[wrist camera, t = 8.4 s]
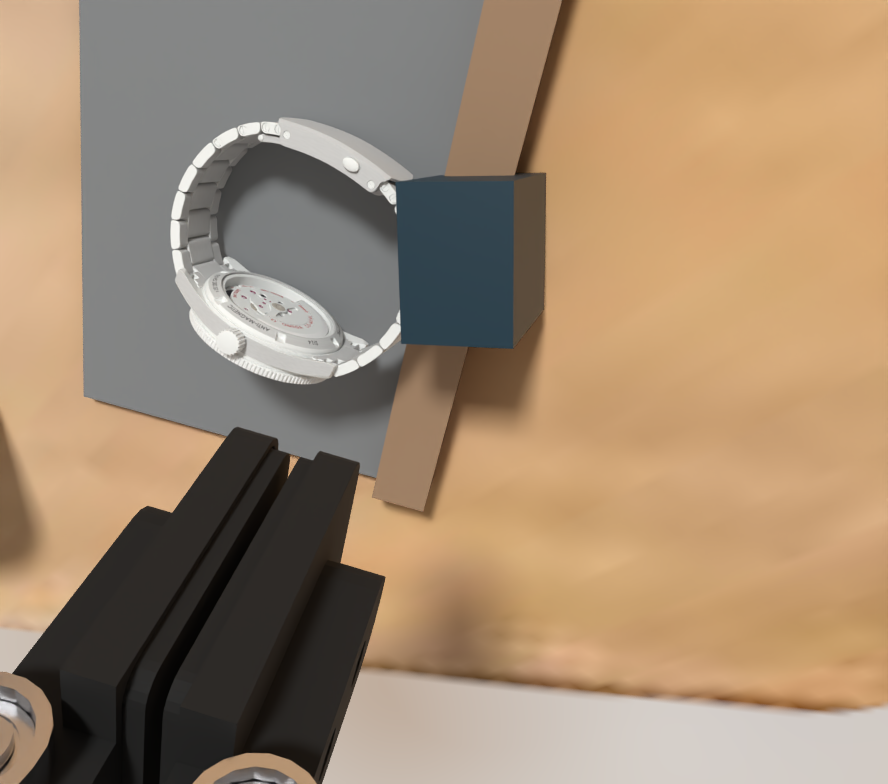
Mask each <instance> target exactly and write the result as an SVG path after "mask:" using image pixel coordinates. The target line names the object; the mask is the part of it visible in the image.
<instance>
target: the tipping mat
mask: <svg viewBox="0 0 888 784" xmlns="http://www.w3.org/2000/svg"><path fill="white" fill-rule="evenodd" d="M561 4H562V0H79V15H80V104H81V193H82V282H83V371H84V397H88V398H92V399H95V400H99V401H102V402H106V403H109V404H113V405H117V406H120V407H124V408H127V409H131V410H135V411H138V412H142V413H145V414H149V415H152V416H156V417H160V418H163V419H167V420H170V421H174V422H178V423H181V424H185V425H188V426H192V427H195V428H199V429H203V430H206V431H210V432H213V433H217V434H221V435H224V436H228V435H229V433H230V432H231V431H232V430H233V429H234V428H235V427H240V428H244V429H247V430H251V431H254V432H257V433H261V434H264V435H268V436H271V437H275V438H277V439H278V443H279V445H278V450H279V451H283V452H286V453H289V454H292V455H296V456H299V457H303V458H307V459H310V460H314V458H315V456H316V455H317V453H318V452H319V451H322V452H326V453H329V454H332V455H336V456H339V457H343V458H346V459H350V460H353V461H356V462H359V463H360V469H359V473H360V474H364V475H367V476H371V477H375V478H376V482H375V486H374V490H373V495H372V498H375V499H379V500H383V501H386V502H390V503H393V504H397V505H400V506H404V507H408V508H411V509H415V510H418V511H422V512H423V511H424V507H425V504H426V500H427V497H428V493H429V490H430V486H431V483H432V479H433V475H434V472H435V468H436V464H437V461H438V457H439V453H440V450H441V446H442V442H443V439H444V435H445V431H446V428H447V424H448V420H449V417H450V413H451V409H452V405H453V402H454V398H455V394H456V391H457V387H458V383H459V380H460V376H461V372H462V369H463V365H464V361H465V358H466V354H467V350H468V347H461V346H438V345H415V344H401V340H400V341H399V342H398V343H396V344H395V345H394V346H392V347H391V348H389V349H388V350H387V351H385V352H384V353H382V354H381V355H380V356H378V357H377V358H376V359H374V360H373V361H371V362H370V363H368V364H366V365H365V366H362V367H359V368H358V369H356V370H354V371H352V372H350V373H347V374H345V375H342V376H338V377H335V376H332V377H331V378H329V379H328V378H327V379H326V380H324V381H321V382H319V383H316V384H315V383H314V384H293V383H287V382H282V381H277V380H274V379H270V378H267V377H264V376H261V375H259V374H256V373H253V372H251V371H249V370H247V369H244V368H243V367H240V366H239V365H236V364H235V363H233V362H231V361H229V360H228V359H226V358H225V357H223V356H222V355H220V354H219V353H218V352H216V351H215V350H214V349H212V348H211V347H210V346H209V345H207V344H206V342H204V340H202V339H201V337H199V335H198V334H197V333H196V331H195V330H194V328H193V326H192V324H191V322H190V317H189V312H190V309H191V307H190V306H189V304H188V303H187V302H186V300H185V298H184V297H183V295H182V293H181V292H180V290H179V288H178V286H177V284H176V282H175V278H176V275H177V274H176V271H175V267H174V262H173V255H172V251H173V250H176V249H172V247H171V236H170V229H171V221H172V220H174V219H172V217H171V214H172V208H173V204H174V200H175V196H176V193H177V192H178V191H180V190H179V185H180V182H181V180H182V178H183V176H184V174H185V172H186V170H187V169H188V167H189V166H190V165H192V164H193V160H194V159H195V158H196V156H197V155H198V154H199V153H200V152H201V150H202V149H203V148H204V147H205V146H206V145H208V144H209V143H213V140H214V139H215V138H216V137H218V136H219V135H221V134H222V133H224V132H226V131H228V130H230V129H232V128H238V126H240V125H243V124H247V123H253V122H278V121H279V118H282V117H288V118H298V119H306V120H311V121H315V122H318V123H322V124H325V125H328V126H331V127H334V128H336V129H339V130H342V131H344V132H346V133H349V134H351V135H353V136H356V137H358V138H360V139H362V140H364V141H365V142H367V143H369V144H371V145H372V146H374V147H376V148H377V149H379V150H380V151H382V152H383V153H385V154H386V155H388V156H389V157H391V158H392V159H393V160H395V161H396V162H398V163H399V164H400V165H401V166H403V167H404V168H405V169H406V170H408V171H409V172H410V173H411V174H412V175H413V179H418V178H425V177H432V176H438V175H445V176H506V175H515V173H516V170H517V166H518V162H519V159H520V155H521V151H522V148H523V144H524V140H525V137H526V133H527V129H528V125H529V122H530V118H531V114H532V111H533V107H534V103H535V100H536V96H537V92H538V89H539V85H540V81H541V78H542V74H543V70H544V67H545V63H546V59H547V55H548V52H549V48H550V44H551V41H552V37H553V33H554V30H555V26H556V22H557V19H558V15H559V11H560V8H561ZM231 167H232V172H231V174H230V176H229V178H228V180H227V182H226V184H225V186H224V188H221V189H219V190H220V191H221V198H220V202H219V208H218V212H217V213H216V214H212V215H215V216H216V218H217V232H218V239H217V240H215V241H211V242H217V243H218V245H219V248H220V253H221V257H222V260H223V259H224V257H231V258H233V259H235V260H236V261H237V262H239V263H240V264H241V265H242V266H243V267H244V268H246V269H247V270H248V271H249V272H251V273H256V274H260V275H264V276H267V277H270V278H273V279H276V280H278V281H281V282H283V283H285V284H288V285H290V286H292V287H294V288H296V289H297V290H299V291H301V292H303V293H304V294H306V295H308V296H309V297H311V298H312V299H313V300H315V301H316V302H317V303H319V304H320V305H321V306H322V307H323V308H324V309H326V310H327V311H328V312H329V314H330V315H332V316H333V317H334V318H335V320H336V321H337V322H338V324H339V325H340V327H341V329H342V331H344V332H346V333H348V334H351V335H353V336H356V337H358V338H361V339H363V340H365V341H366V342H367V343H368V346H371V345H373V344H376V343H379V342H380V339H381V338H382V337H383V336H384V335H385V334H386V332H387V331H388V330H389V328H390V327H391V325H393V324H394V323H396V322H397V321H396V317H397V315H398V313H399V310H400V298H399V269H398V241H397V215H396V212H395V207H396V204H391V203H389V201H388V200H387V198H386V197H385V196H384V195H381V196H378V195H374V194H373V193H372V192H369V191H367V190H366V189H365V188H363V187H362V186H361V185H359V184H358V183H357V182H355V181H354V180H352V179H351V178H350V177H348V176H347V175H345V174H344V173H342V172H340V171H339V170H337V169H336V168H334V167H332V166H330V165H329V164H327V163H325V162H323V161H321V160H319V159H317V158H314V157H312V156H310V155H307V154H305V153H302V152H300V151H297V150H294V149H291V148H288V147H285V146H283V145H281V144H276V143H269V142H261V143H259V144H257V145H256V146H254V147H253V148H247V153H246V154H245V155H244V156H243V157H242V158H241V159H240V160H239V162H238V163H237V164H236V165H235V166H231ZM179 249H180V248H179ZM368 346H367V347H368Z"/></svg>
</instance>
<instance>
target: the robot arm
mask: <svg viewBox="0 0 888 784" xmlns="http://www.w3.org/2000/svg"><path fill="white" fill-rule="evenodd" d="M278 445H279V443H278V439H277V438H275V437H271V436H268V435H264V434H261V433H257V432H254V431H251V430H247V429H244V428H240V427H235V428H234V429H233V430H232V431H231V432H230V433H229V435H228V436H227V438H226V439H225V440H224V442H223V443H222V444H221V446H220V447H219V449H218V450H217V451H216V453H215V454H214V456H213V457H212V458H211V460H210V461H209V463H208V464H207V465H206V467H205V468H204V470H203V471H202V472H201V474H200V475H199V476H198V478H197V479H196V481H195V482H194V483H193V485H192V486H191V488H190V489H189V490H188V492H187V493H186V495H185V496H184V497H183V499H182V500H181V501H180V503H179V504H178V506H177V507H176V508H175V510H174V511H173V513H170V512H167V511H164V510H160V509H157V508H153V507H150V506H147V507H145V508H143V509H141V510H140V511H139V512H138V513H137V514H136V515H135V516H134V517H133V519H132V520H131V521H130V522H129V524H128V525H127V526H126V528H125V529H124V530H123V531H122V533H121V534H120V535H119V537H118V538H117V539H116V540H115V542H114V543H113V544H112V546H111V547H110V548H109V550H108V551H107V552H106V553H105V555H104V556H103V557H102V559H101V560H100V561H99V562H98V564H97V565H96V566H95V568H94V569H93V570H92V571H91V573H90V574H89V575H88V577H87V578H86V579H85V580H84V582H83V583H82V584H81V586H80V587H79V588H78V589H77V591H76V592H75V593H74V595H73V596H72V597H71V599H70V600H69V601H68V602H67V604H66V605H65V606H64V608H63V609H62V610H61V611H60V613H59V614H58V615H57V617H56V618H55V619H54V620H53V622H52V623H51V624H50V626H49V627H48V628H47V629H46V631H45V632H44V633H43V635H42V636H41V637H40V638H39V640H38V641H37V643H36V644H35V645H34V646H33V647H32V649H31V650H30V651H29V653H28V654H27V655H26V657H25V658H24V659H23V660H22V662H21V663H20V664H19V666H18V667H17V668H16V669H15V671H14V672H13V673H12V674H10V673H7V672H0V784H322V782H323V779H324V776H325V773H326V770H327V767H328V764H329V761H330V758H331V755H332V752H333V749H334V746H335V743H336V740H337V737H338V734H339V731H340V728H341V725H342V722H343V720H344V717H345V714H346V711H347V708H348V705H349V702H350V699H351V696H352V692H353V690H354V687H355V684H356V681H357V678H358V675H359V672H360V669H361V666H362V662H363V659H364V656H365V653H366V650H367V646H368V643H369V639H370V636H371V633H372V629H373V626H374V622H375V618H376V614H377V611H378V607H379V603H380V599H381V595H382V591H383V586H384V582H385V576H381V575H378V574H375V573H371V572H368V571H365V570H361V569H358V568H354V567H351V566H348V565H344V564H341V563H340V562H341V557H342V553H343V548H344V543H345V538H346V533H347V528H348V524H349V519H350V514H351V509H352V504H353V499H354V494H355V490H356V485H357V480H358V475H359V469H360V463H359V462H356V461H353V460H350V459H346V458H343V457H339V456H336V455H332V454H329V453H326V452H322V451H319V452H318V453H317V455H316V456H315V458H314V460H310V459H307V458H303V457H300V458H299V460H298V461H297V463H296V464H295V466H294V468H293V470H292V471H291V473H290V475H289V477H288V470H289V463H290V454H289V453H286V452H283V451H279V450H278ZM287 477H288V479H287Z"/></svg>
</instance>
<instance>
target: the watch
mask: <svg viewBox="0 0 888 784" xmlns="http://www.w3.org/2000/svg"><path fill="white" fill-rule="evenodd" d="M261 142H269V143H276V144H281V145H283V146H285V147H288V148H291V149H294V150H297V151H300V152H302V153H305V154H307V155H310V156H312V157H314V158H317V159H319V160H321V161H323V162H325V163H327V164H329V165H330V166H332V167H334V168H336V169H337V170H339V171H340V172H342V173H344V174H345V175H347V176H348V177H350V178H351V179H352V180H354V181H355V182H357V183H358V184H359V185H361V186H362V187H363V188H365V189H366V190H367V191H369V192H372V193H373V194H374V195H378V196H381V195H384V196H385V197H386V198H387V200H388V201H389V203H391V204H396V207H395V212H396V215H397V241H398V269H399V298H400V310H399V313H398V315H397V317H396V321H397V322H396V323H394V324H393V325H391V327H390V328H389V330H388V331H387V332H386V334H385V335H384V336H383V337H382V338H381V339H380V342H379V343H376V344H373V345H371V346H368V343H367V342H366V341H365V340H363V339H361V338H358V337H356V336H353V335H351V334H348V333H346V332H344V331H342V329H341V327H340V325H339V324H338V322H337V321H336V320H335V318H334V317H333V316H332V315H330V314H329V312H328V311H327V310H326V309H324V308H323V307H322V306H321V305H320V304H319V303H317V302H316V301H315V300H313V299H312V298H311V297H309V296H308V295H306V294H304V293H303V292H301V291H299V290H297V289H296V288H294V287H292V286H290V285H288V284H285V283H283V282H281V281H278V280H276V279H273V278H270V277H267V276H264V275H260V274H256V273H251V272H249V271H248V270H247V269H246V268H244V267H243V266H242V265H241V264H240V263H239V262H237V261H236V260H235V259H233V258H231V257H224V259H223V260H222V257H221V253H220V248H219V245H218V243H217V242H211V241H215V240H217V239H218V232H217V218H216V216H215V215H212V214H216V213H217V212H218V208H219V202H220V198H221V191H220V190H219V189H221V188H224V186H225V184H226V182H227V180H228V178H229V176H230V174H231V172H232V167H231V166H235V165H236V164H237V163H238V162H239V160H240V159H241V158H242V157H243V156H244V155H245V154H246V153H247V148H253V147H254V146H256V145H257V144H259V143H261ZM179 190H180V191H178V192H177V193H176V196H175V200H174V204H173V208H172V214H171V217H172V219H174V220H172V221H171V229H170V236H171V247H172V249H176V250H173V251H172V255H173V262H174V267H175V271H176V274H177V275H176V278H175V282H176V284H177V286H178V288H179V290H180V292H181V293H182V295H183V297H184V298H185V300H186V302H187V303H188V304H189V306H190V307H191V309H190V312H189V317H190V322H191V324H192V326H193V328H194V330H195V331H196V333H197V334H198V335H199V337H201V339H202V340H204V342H206V344H207V345H209V346H210V347H211V348H212V349H214V350H215V351H216V352H218V353H219V354H220V355H222V356H223V357H225V358H226V359H228V360H229V361H231V362H233V363H235V364H236V365H239V366H240V367H243V368H244V369H247V370H249V371H251V372H253V373H256V374H259V375H261V376H264V377H267V378H270V379H274V380H277V381H282V382H287V383H293V384H314V383H315V384H316V383H319V382H321V381H324V380H326V379H327V378H328V379H329V378H331V377H332V376H335V377H338V376H342V375H345V374H347V373H350V372H352V371H354V370H356V369H358V368H359V367H362V366H365V365H366V364H368V363H370V362H371V361H373V360H374V359H376V358H377V357H378V356H380V355H381V354H382V353H384V352H385V351H387V350H388V349H389V348H391V347H392V346H394V345H395V344H396V343H398V342H399V341H400V340H401V344H415V345H438V346H461V347H485V348H508V349H513V348H514V347H515V346H516V345H517V343H518V342H519V341H520V339H521V338H522V337H523V336H524V334H525V333H526V332H527V331H528V329H529V328H530V327H531V325H532V324H533V323H534V322H535V320H536V319H537V318H538V317H539V315H540V314H541V313H542V311H543V310H544V274H545V207H546V173H515V175H506V176H445V175H438V176H432V177H425V178H418V179H413V175H412V174H411V173H410V172H409V171H408V170H406V169H405V168H404V167H403V166H401V165H400V164H399V163H398V162H396V161H395V160H393V159H392V158H391V157H389V156H388V155H386V154H385V153H383V152H382V151H380V150H379V149H377V148H376V147H374V146H372V145H371V144H369V143H367V142H365V141H364V140H362V139H360V138H358V137H356V136H353V135H351V134H349V133H346V132H344V131H342V130H339V129H336V128H334V127H331V126H328V125H325V124H322V123H318V122H315V121H311V120H306V119H298V118H288V117H282V118H279V121H278V122H253V123H247V124H243V125H240V126H238V128H232V129H230V130H228V131H226V132H224V133H222V134H221V135H219V136H218V137H216V138H215V139H214V140H213V143H209V144H208V145H206V146H205V147H204V148H203V149H202V150H201V152H200V153H199V154H198V155H197V156H196V158H195V159H194V160H193V164H192V165H190V166H189V167H188V169H187V170H186V172H185V174H184V176H183V178H182V180H181V182H180V185H179ZM179 248H180V249H179ZM367 346H368V347H367Z"/></svg>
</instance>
